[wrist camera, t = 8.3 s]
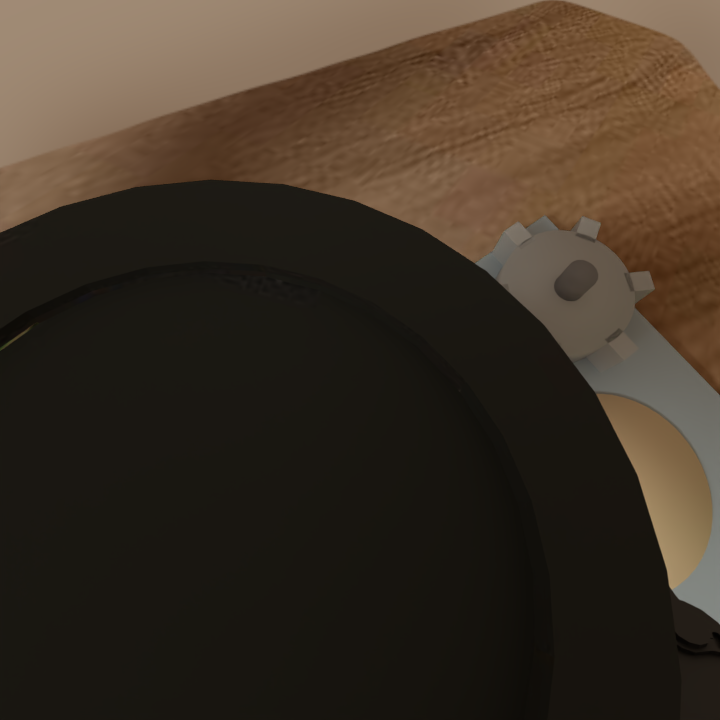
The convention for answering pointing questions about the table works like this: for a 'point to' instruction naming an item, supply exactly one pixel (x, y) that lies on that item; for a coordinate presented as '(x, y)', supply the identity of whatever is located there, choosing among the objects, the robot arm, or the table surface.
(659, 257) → the table surface
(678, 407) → the gear board
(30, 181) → the table surface
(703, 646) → the robot arm
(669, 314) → the table surface
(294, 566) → the coffee cup
